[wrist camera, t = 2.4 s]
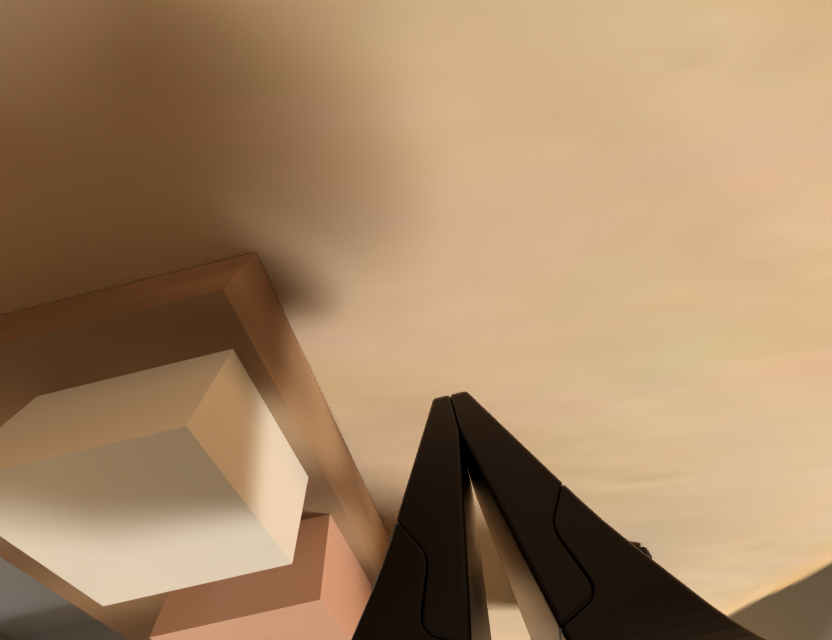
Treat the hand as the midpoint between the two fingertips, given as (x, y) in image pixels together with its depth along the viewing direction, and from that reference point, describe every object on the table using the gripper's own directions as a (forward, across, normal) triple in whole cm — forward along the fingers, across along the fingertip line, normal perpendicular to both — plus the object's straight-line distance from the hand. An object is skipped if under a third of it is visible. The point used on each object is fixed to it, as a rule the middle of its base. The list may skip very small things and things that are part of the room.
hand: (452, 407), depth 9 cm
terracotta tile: (+1, +7, +7) cm, 10 cm away
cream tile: (+1, +7, 0) cm, 7 cm away
